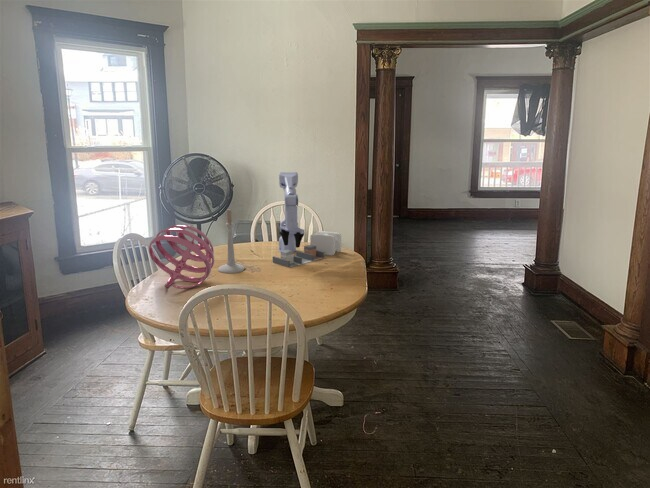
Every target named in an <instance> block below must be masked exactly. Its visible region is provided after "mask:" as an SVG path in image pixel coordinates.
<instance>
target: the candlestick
mask: <svg viewBox="0 0 650 488" xmlns="http://www.w3.org/2000/svg"><path fill="white" fill-rule="evenodd" d="M226 217H227V218H226V219H227V222H226V223H225V225H226V227H227V229H228V230H227V263H225V264H222V265H221V266H218V268H217V271H218V272H219V273H222V274H237V273H241V272H243V271H245V270H246V267H244V265H243V264H240V263H236V258H235V249H234V240H233V230H232V229H233V225H234V223H233V222H232V220H233V219H232V209H230V208H227V209H226Z"/></svg>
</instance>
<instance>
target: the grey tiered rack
mask: <svg viewBox="0 0 650 488" xmlns="http://www.w3.org/2000/svg"><path fill="white" fill-rule="evenodd" d="M324 259H325V255H324V252H322V251H318V250H316V257H314V258H313V255H312V254H308V253H304V251H300V250H296V251H295V255H294V263H291V264H290V261H289V260H285V259H282V258H281V257H278V256H274V255H273V256H272V263H273V264H276V265H280V266H283V267H286V268H294V267H296V266H297V267H298V266H301V265H304V264H308V263H312V262H317V261H320V260H324Z"/></svg>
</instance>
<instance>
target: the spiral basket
mask: <svg viewBox="0 0 650 488" xmlns="http://www.w3.org/2000/svg"><path fill="white" fill-rule="evenodd" d="M186 229H187V230H186ZM189 230H191V231H192V232H191V231H189ZM172 232H173V233H174V232H175V233H177V236H176V235H172ZM193 232H195V233H197V234H198V235H199V236H201V237H203V238H204V239H202V238H201V237H199V236H198V235H197V234H195V233H193ZM163 233H165V234H163ZM162 234H163V235H162ZM186 236H188V238H189V237H190V238H192V240H191V241H190V240H189V239H188V238H187V237H186ZM161 241H166V243H168V245H169V246H170V247H171V249H172V250H173V251H175V252H176V253H177V254H179V255H180V256H181V259H180V260H178V259H176V258H175V257H174V256H172V255H171V254H170V253H168V251H167V250H166V249H165V248H164V246H163V245H162V242H161ZM195 241H196V242H197V243H195ZM153 244H155V246H156V249H157V250H158V251H159V254H161V255H162V256H163V258H164V259H166V260H167V261H168V262H170V263H171V264H172V265H174V266H175V269H172V268H169V267H168V266H166V265H165V264H164V263H163V262H162V261H161V260H160V259H159V258H158V257H157V255H156V254H155V252H154V250H153ZM177 244H179V245H181V246H183V247H185V248H187V249H185V250H184V249H183V248H181V247H180V246H179V245H177ZM191 251H192V252H193V253H195V254H193V253H192V252H191ZM203 251H205V253H204V252H203ZM214 251H215V250H214V246H213V244H212V242H211V240H210V239H209V238H208V237H207V235H206V234H205V233H204V232H202V231H201V229H198V228H196V227H194V226H190V225H187V224H185V225H184V224H175V225H171V226H169V227H166V228H164V229H162V230H160V231H159V232H158V233H157V234H156V235H155V237H154V238H153V239H152V240H151V241H150V243H149V245H148V252H149V257H150V258H151V259H152V261H153V263H154V264H156V265H157V266H158V267H159V268H160V269H161V270H162V271H163V272H165V273H166V274H168V275H169V279H168V281H167V282H166V283H165V284H164V287H165V288H169V287H170V286H172V288H175V289H179V290H190V289H193V288H196V287H198V286H199V285H201V284H202V283H203V282H204V281H205V280H206V279H207V278H208V277H209V276H210V275H211V272H212V269H213V267H214V265H215V253H214ZM188 260H191V261H195V262H201V263H202V262H203V263H204V265H205V266H202V267H197V266H193V265H188V264H187V261H188ZM182 271H186V272H191V273H197V274H200V273H201V274H202V273H204V274H203V276H202V277H192V276H191V277H190V276H186V275H185V274H184V275H183V274H181V272H182ZM176 280H181V281H184V282H188V281H189V282H190V283H195V284H193V285H190V286H179V285H176V284H173V283H175V281H176Z"/></svg>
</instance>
